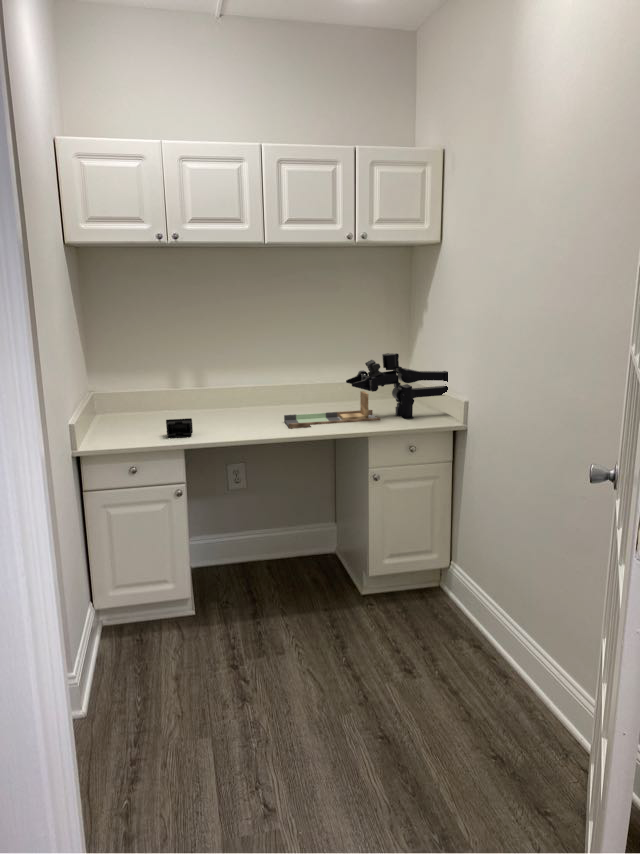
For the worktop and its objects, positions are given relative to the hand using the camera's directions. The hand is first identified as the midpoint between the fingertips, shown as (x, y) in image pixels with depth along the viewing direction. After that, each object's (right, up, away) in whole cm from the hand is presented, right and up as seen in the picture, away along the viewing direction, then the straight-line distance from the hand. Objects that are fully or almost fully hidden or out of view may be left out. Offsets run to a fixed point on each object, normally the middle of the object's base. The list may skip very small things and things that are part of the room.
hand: (348, 383), depth 279 cm
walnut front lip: (-6, -18, -3) cm, 19 cm away
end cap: (-68, -22, -16) cm, 73 cm away
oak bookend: (+2, -15, +4) cm, 16 cm away
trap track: (-7, -16, +2) cm, 18 cm away
